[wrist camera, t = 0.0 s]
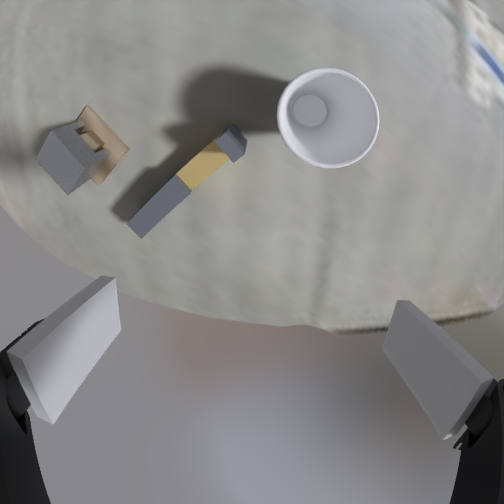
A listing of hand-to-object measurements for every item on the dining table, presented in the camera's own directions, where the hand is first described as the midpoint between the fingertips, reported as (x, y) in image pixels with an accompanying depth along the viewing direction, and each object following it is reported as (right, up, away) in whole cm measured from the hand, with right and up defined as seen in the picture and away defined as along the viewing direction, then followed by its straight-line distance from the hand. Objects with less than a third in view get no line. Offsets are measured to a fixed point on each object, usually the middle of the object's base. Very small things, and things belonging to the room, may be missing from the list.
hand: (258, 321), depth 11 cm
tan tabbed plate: (-24, +19, +22) cm, 37 cm away
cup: (+7, +21, +20) cm, 30 cm away
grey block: (-24, +18, +20) cm, 36 cm away
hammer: (-10, +13, +25) cm, 30 cm away
